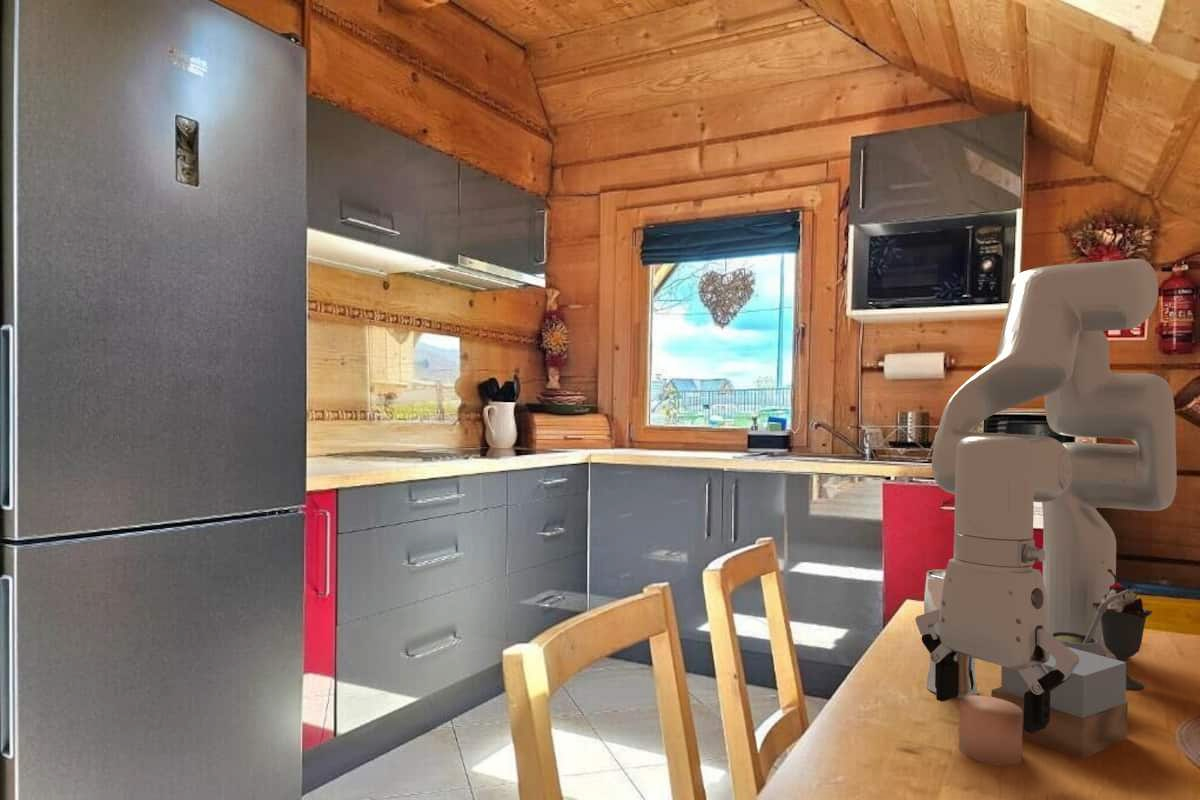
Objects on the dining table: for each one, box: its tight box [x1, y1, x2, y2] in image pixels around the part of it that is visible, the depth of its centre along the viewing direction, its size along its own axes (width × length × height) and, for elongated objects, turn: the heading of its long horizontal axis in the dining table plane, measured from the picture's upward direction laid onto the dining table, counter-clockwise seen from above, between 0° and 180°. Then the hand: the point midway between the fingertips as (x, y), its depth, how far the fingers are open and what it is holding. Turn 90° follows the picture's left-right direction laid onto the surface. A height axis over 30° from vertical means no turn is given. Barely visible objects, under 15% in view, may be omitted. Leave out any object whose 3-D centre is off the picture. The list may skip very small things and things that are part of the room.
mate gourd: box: [1050, 590, 1128, 657], centre depth 99 cm, size 8×8×15 cm
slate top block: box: [1000, 647, 1127, 719], centre depth 89 cm, size 9×9×4 cm
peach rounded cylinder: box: [958, 694, 1023, 767], centre depth 84 cm, size 6×6×5 cm
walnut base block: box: [990, 686, 1129, 760], centre depth 90 cm, size 10×10×4 cm
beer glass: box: [923, 568, 979, 700], centre depth 102 cm, size 7×7×15 cm
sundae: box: [1092, 569, 1153, 691], centre depth 106 cm, size 7×7×15 cm
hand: (989, 713), depth 84 cm, fingers open, 9 cm apart
